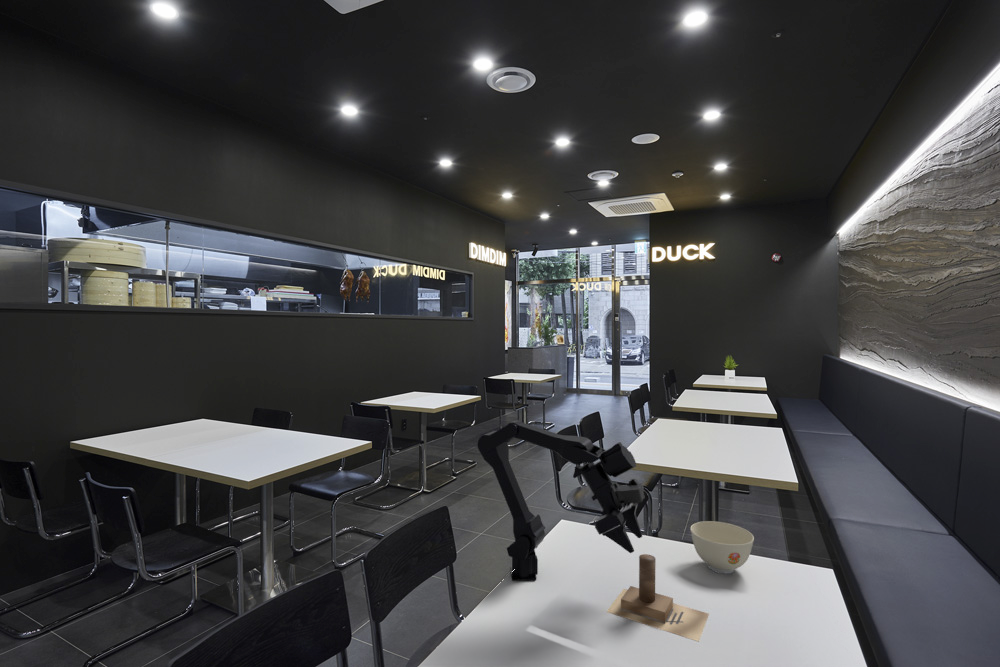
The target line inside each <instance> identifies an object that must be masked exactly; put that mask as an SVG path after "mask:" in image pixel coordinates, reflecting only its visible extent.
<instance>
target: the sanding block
mask: <svg viewBox="0 0 1000 667" xmlns="http://www.w3.org/2000/svg"><path fill="white" fill-rule="evenodd" d="M638 563H639V564H638V567H639V568H638V587H636V586H632V585H630V586H629V587H628V589H626V590H627V592H626V593H625V594H624V596H623V597H622V598H621V610H623V611H626V612H629V613H633V614H636V615H639V616H642V617H645V618H648V619H652V620H655V621H658V622H661V623H664V624H665V623H666V621H667V619H668V617H669V615H670V613H671V611H672V609H673V603H674V598H673V597H670V596H667V595H664V594H660V593H658V592H657V593H656V557H655V555H652V554H647V553H644V554H640V555H639V556H638Z"/></svg>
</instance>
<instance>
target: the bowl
mask: <svg viewBox="0 0 1000 667" xmlns="http://www.w3.org/2000/svg"><path fill="white" fill-rule="evenodd" d="M690 534H691V539H692V543H693V546H694V549H695V551H696V554H697V555H698V556H699V558H700V559H701V560H702V561H703V562H704V563H705V564H707V566H708V568H709V569H710V568H711V569H712V571H713V570H714V571H713V572H715V571H716V573H718V572H719V574H723V573H724V575H725V574H726V575H727V574H732V573H734V571H735V569H736V570H737V569H738V568H741V567H742V566H744V564H746V562H747V561H748V560H749V558H750V555H751V552H752V548H753V545H754V541H755V537H754V534H753V533H751V532H750V531H749V530H748V529H745V528H743V527H741V526H739V525H735V524H732V523H728V522H723V521H716V520H714V521H711V520H704V521H703V520H702V521H698V522H695V523H693V524H692V525H691V526H690ZM711 569H710V570H711Z"/></svg>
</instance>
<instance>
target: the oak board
mask: <svg viewBox="0 0 1000 667" xmlns="http://www.w3.org/2000/svg"><path fill="white" fill-rule="evenodd" d="M627 590H628V589H626V588H623V589H622V590H621V592H620V593H619V594H618V596H616V598H615V600H614V602H612V604H611V605H610V606H609V608H608V610H606V613H609V614H612V615H615V616H618V617H621V618H625V619H627V620H628V619H629V620H631V621H634V622H637V623H640V624H644V625H646V626H649V627H653V628H656V629H659V630H660V631H661V630H662V631H665V632H667V633H670V634H674V635H678V636H680V637H683V638H685V639H689V640H693V641H695V642H700V640H701V637H702V634H703V632H704V629H705V626H706V623H707V621H708V618H709V616H710V613H708V612H705V611H702V610H698V609H694V608H690V607H688V606H684V605H681V604H677V603H674V602H673V609H672V611H671V613H670V615H669V617H668V619H667V621H666V623H665V624H664V623H661V622H658V621H655V620H652V619H648V618H645V617H642V616H639V615H636V614H633V613H629V612H626V611H623V610H621V598H622V597H623V596H624V594H625V593H626V592H627Z"/></svg>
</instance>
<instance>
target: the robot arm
mask: <svg viewBox="0 0 1000 667" xmlns="http://www.w3.org/2000/svg"><path fill="white" fill-rule="evenodd" d="M515 438H516V439H518V440H522V441H524V442H527V443H530V444H533V445H536V446H538V447H541V448H544V449H547V450H550V451H553V452H555V453H557V454H558V455H559V456H560V457H561V458H562V459H564V460H565V461H568V462H570V463H571V464H573V465H576V466H574V472H573V476H572V477H573V479H576V478H578V477H580V476H582V478H583V480H584V481H585V483H586V485H587V487H588V488H589V490H590V492H591V493H592V496H591V497H590V498H591V500H592V501H597V504H598V505H599V507H600V509H601V510H600V515H601V516H600V517H598V519H597V520H596V521H595V525H594V528H595V530H596V531H597V533H598V535H602V536H605V537H607V538H608V539H609V540H611V541H613V542H614V543H615V544H617V545H618V546H620V547H621V548H622V549H623V550H625V551H626V552H628V553H630V554H633V553H634V552H635V549H634V546H633V545H632V544H633V543H632V541H631V540H630V537H629V536H628V533H627V531H626V528H627V529H628V530H629V531H630V532H631V533H632V534H633V535H635V537H636V538H638V539H641V538H643V533H642V530H641V528H640V524H639V521H638V517H637V514H636V512H637V508H638V504H640V503H643V500H644V499H645V498H646V497H645V492H644V490H645V487H644V486H643V484H642V483H640V482H639V481H638V479H637V478H632V479H630V480H628V484H624V485H622V486H620V484H619V483H618V482H616V481H613V480H612V479H611V477H613V478H618V477H619V476H622V475H623V474H625V473H627V472H629V471H630V470H632V469H635V468H636V467H637V463H636V459H635V457H634V454H632V452H631V451H630V450H629V449H628V448H627V447H626V446H625V445H623V443H622V442H621V441H619V442H616V443H615V444H614V445H613V446H611V447H610V448H607V449H605V448H603V447H600V446H598V445H595V444H594V443H593V442H592V440H591V439H590V438H588V437H586V436H580V435H565V434H564V435H563V434H559V433H556V432H552V431H549V430H547V429H543V428H540V427H537V426H535V425H531V424H528V423H525V422H523V421H522V420H519V419H517V420H513V421H511V422H509V423H507V425H505V426H503V427H502V428H500V429H498V430H493V431H491V432H488V433H486V434H482V435H481V436H480V437H479V438H478V441H477V443H476V444H477V445H476V446H477V450H478V452H479V454H480V455H481V457H482V458H483V460H484V461H485V462H486V463H487V464H488V465H489V466H490V467H491V469H492V470H493V472H494V475H495V478H496V480H497V483H498V485H499V487H500V491H501V493H502V496H503V498H504V500H505V502H506V504H507V507H508V510H509V512H510V514H511V517H512V533H513V537H514V541H513V542H512V543H510V545H509V546H507V547H506V550H507V556H508V557H510V559H511V560H510V561H511V562H510V569H509V571H510V572H511V571H513V570H514V569H515V570H514V571H513V572H512V574H511V573H510V576H511V577H510V578H511V581H517V582H518V581H537V575H538V572H539V571H538V569H539V568H538V567H539V564H538V562H539V560H538V556H537V554H536V549H537V548H538V547H539V545H540V544H541V543H542V542H543V541H544V539H545V537H546V532H545V529H546V526H545V525H544V523H543V521H542V518H541V516H540V514H536V515H534V514H533V513H532V512H531V511H530V508H529V507H528V504H527V502H526V499H525V497H524V495H523V492H522V490H521V488H520V485H519V483H518V481H517V478H516V476H515V472H514V470H513V468H512V466H511V463H510V460H509V456H510V455H509V453H510V450H509V445H508V443H509V442H510V441H512V440H514V439H515ZM598 460H599V461H598ZM596 461H597V462H596ZM582 464H584V465H582Z"/></svg>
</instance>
